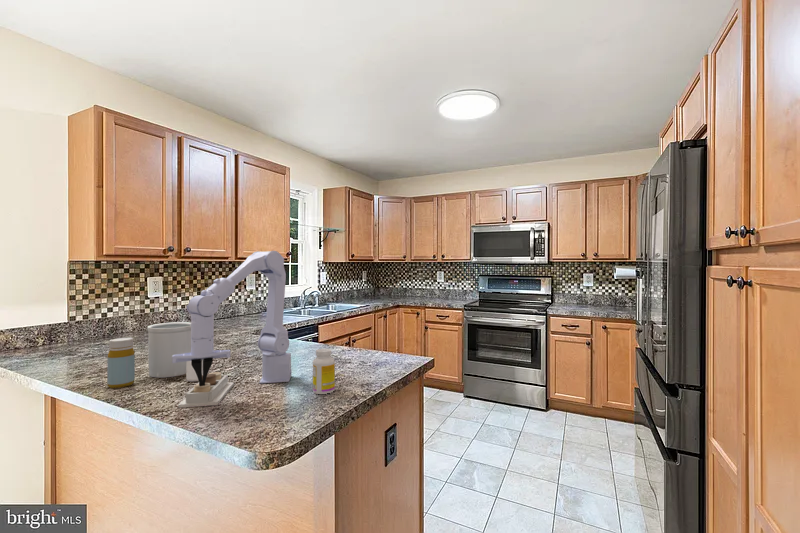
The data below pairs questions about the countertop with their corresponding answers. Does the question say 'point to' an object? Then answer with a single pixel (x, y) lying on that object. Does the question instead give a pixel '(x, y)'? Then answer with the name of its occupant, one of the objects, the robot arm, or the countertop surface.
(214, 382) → the walnut plug
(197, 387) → the maple plug
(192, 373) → the eye dropper bottle
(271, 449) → the countertop surface
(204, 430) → the countertop surface
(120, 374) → the bottle
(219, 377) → the maple plug
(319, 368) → the supplement bottle
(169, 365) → the utensil holder
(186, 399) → the white compartment tray
